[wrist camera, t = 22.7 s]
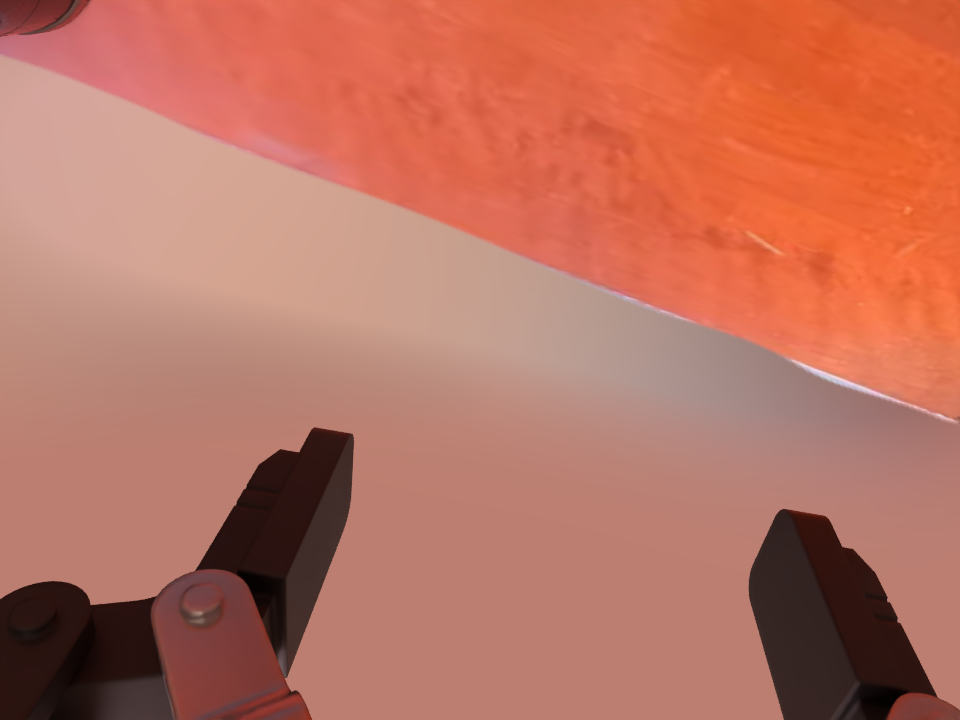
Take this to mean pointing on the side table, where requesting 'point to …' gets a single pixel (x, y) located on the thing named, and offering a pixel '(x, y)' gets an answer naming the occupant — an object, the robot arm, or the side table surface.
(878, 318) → the side table surface
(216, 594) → the robot arm
